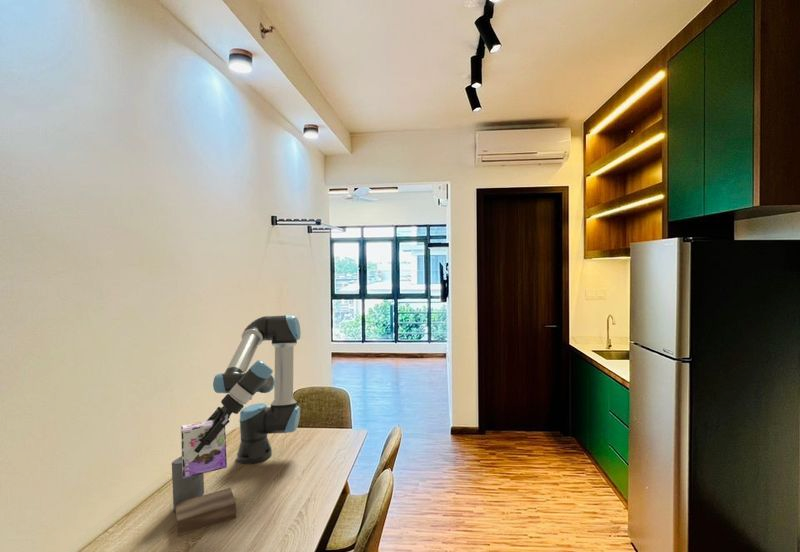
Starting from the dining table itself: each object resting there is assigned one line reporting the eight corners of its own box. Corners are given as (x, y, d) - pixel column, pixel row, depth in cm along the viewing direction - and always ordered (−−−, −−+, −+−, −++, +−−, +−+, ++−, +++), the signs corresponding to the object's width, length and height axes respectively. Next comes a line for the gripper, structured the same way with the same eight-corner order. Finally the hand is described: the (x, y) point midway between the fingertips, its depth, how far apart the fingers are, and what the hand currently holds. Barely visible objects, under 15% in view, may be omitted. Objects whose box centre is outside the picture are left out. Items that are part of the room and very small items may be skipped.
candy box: (182, 479, 135) (180, 430, 135) (182, 471, 140) (180, 424, 140) (227, 468, 142) (225, 421, 141) (225, 461, 147) (223, 416, 146)
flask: (186, 512, 144) (183, 457, 144) (170, 512, 145) (168, 457, 144) (208, 489, 159) (206, 439, 159) (194, 489, 160) (192, 439, 159)
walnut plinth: (176, 517, 142) (175, 503, 142) (231, 500, 151) (230, 487, 151) (177, 536, 131) (177, 521, 131) (236, 517, 141) (235, 503, 141)
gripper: (249, 412, 139) (199, 472, 131) (240, 398, 156) (194, 450, 148) (232, 400, 137) (179, 461, 129) (224, 386, 153) (177, 440, 145)
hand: (187, 455), depth 138 cm, fingers closed on candy box, 6 cm apart
